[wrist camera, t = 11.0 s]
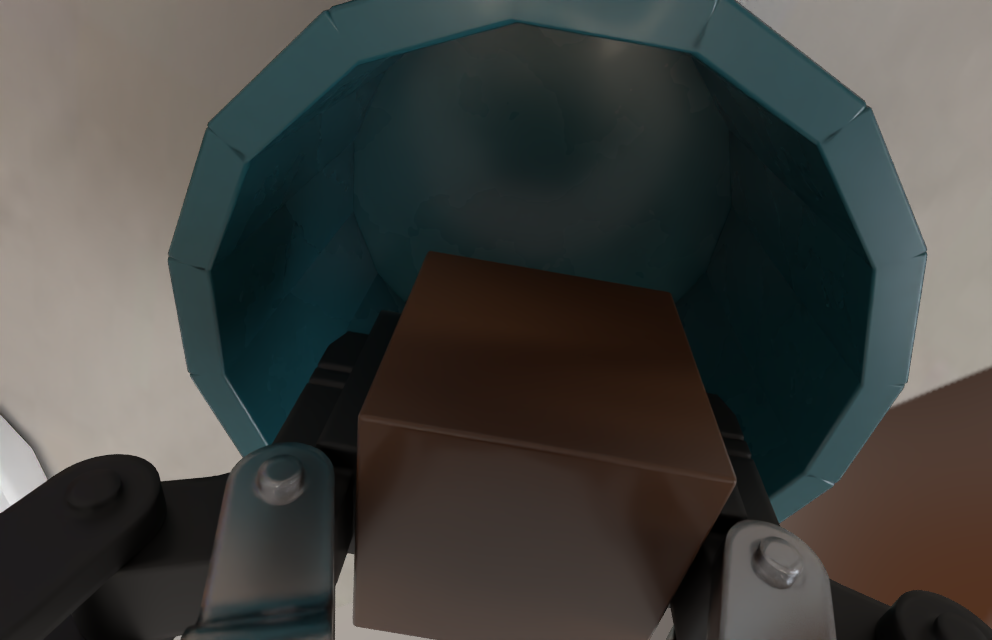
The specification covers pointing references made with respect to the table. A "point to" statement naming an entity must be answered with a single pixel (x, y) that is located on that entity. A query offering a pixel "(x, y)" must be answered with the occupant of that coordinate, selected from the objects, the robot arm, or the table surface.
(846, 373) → the tin
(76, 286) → the table surface
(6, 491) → the bottle
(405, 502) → the block
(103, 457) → the robot arm
